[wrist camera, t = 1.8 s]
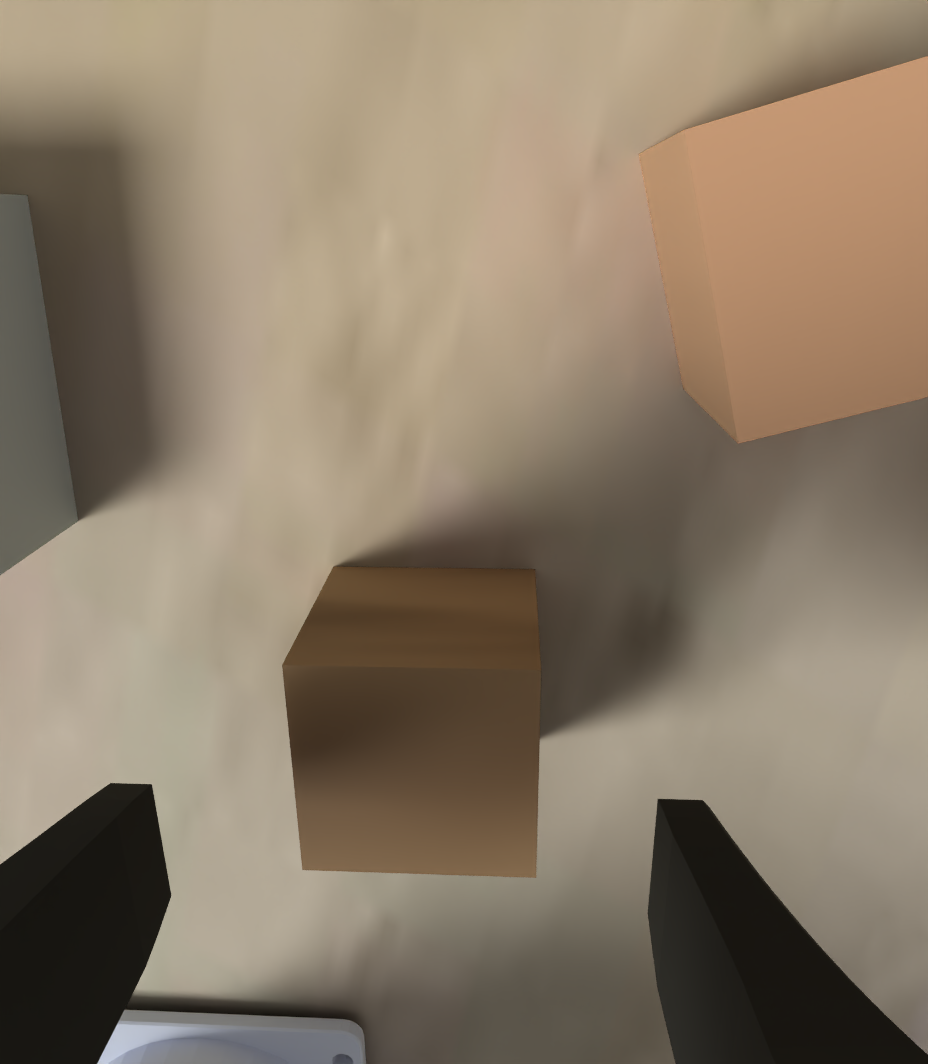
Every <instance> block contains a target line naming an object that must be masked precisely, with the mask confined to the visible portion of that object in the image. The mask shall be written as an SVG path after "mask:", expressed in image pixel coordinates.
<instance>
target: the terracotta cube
mask: <svg viewBox="0 0 928 1064" xmlns="http://www.w3.org/2000/svg"><path fill="white" fill-rule="evenodd" d="M639 159H640V164H641V169H642V175H643V180H644V185H645V190H646V196H647V201H648V206H649V211H650V217H651V222H652V227H653V232H654V238H655V243H656V248H657V253H658V259H659V264H660V269H661V274H662V280H663V285H664V290H665V296H666V301H667V306H668V311H669V317H670V322H671V327H672V332H673V338H674V343H675V348H676V353H677V359H678V364H679V369H680V374H681V380H682V385H683V389H684V390H685V391H686V392H687V393H688V394H689V395H690V396H691V397H692V398H693V399H694V400H695V401H696V402H697V403H698V404H699V405H700V406H701V407H702V408H703V409H704V410H705V411H706V412H707V413H708V414H709V415H710V416H711V417H712V418H713V419H714V420H715V421H716V422H717V423H718V424H719V425H720V426H721V427H722V428H723V429H724V430H725V431H726V432H727V433H728V434H729V435H730V436H731V437H732V438H733V439H734V440H735V441H736V442H737V443H738V444H739V443H743V442H747V441H751V440H755V439H759V438H763V437H768V436H772V435H776V434H780V433H784V432H788V431H792V430H796V429H800V428H804V427H808V426H812V425H816V424H820V423H825V422H829V421H833V420H837V419H841V418H845V417H849V416H853V415H857V414H861V413H865V412H869V411H873V410H877V409H882V408H886V407H890V406H894V405H898V404H902V403H906V402H910V401H914V400H918V399H922V398H926V397H928V56H926V57H923V58H919V59H916V60H913V61H909V62H906V63H903V64H900V65H896V66H893V67H890V68H886V69H883V70H880V71H876V72H873V73H870V74H867V75H863V76H860V77H857V78H853V79H850V80H847V81H843V82H840V83H837V84H834V85H830V86H827V87H824V88H820V89H817V90H814V91H811V92H807V93H804V94H801V95H797V96H794V97H791V98H787V99H784V100H781V101H778V102H774V103H771V104H768V105H764V106H761V107H758V108H754V109H751V110H748V111H745V112H741V113H738V114H735V115H731V116H728V117H725V118H721V119H718V120H715V121H712V122H708V123H705V124H702V125H698V126H695V127H692V128H689V129H685V130H683V131H681V132H679V133H677V134H675V135H674V136H672V137H670V138H668V139H666V140H664V141H662V142H660V143H658V144H657V145H655V146H653V147H651V148H649V149H647V150H645V151H643V152H642V153H640V154H639Z"/></svg>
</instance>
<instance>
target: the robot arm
mask: <svg viewBox="0 0 928 1064" xmlns="http://www.w3.org/2000/svg"><path fill="white" fill-rule="evenodd" d="M170 898H171V891H170V886H169V880H168V874H167V869H166V863H165V857H164V852H163V846H162V840H161V834H160V829H159V823H158V817H157V812H156V806H155V800H154V794H153V789H152V784H121V783H110V784H109V785H107V786H106V787H105V788H103V789H102V790H100V791H99V792H97V793H96V794H94V795H93V796H92V797H90V798H89V799H87V800H86V801H85V802H83V803H82V804H81V805H79V806H78V807H77V808H75V809H74V810H73V811H71V812H70V813H69V814H67V815H66V816H65V817H63V818H62V819H61V820H59V821H58V822H57V823H55V824H54V825H53V826H51V827H50V828H49V829H47V830H46V831H45V832H43V833H42V834H41V835H39V836H38V837H37V838H35V839H34V840H33V841H31V842H30V843H29V844H27V845H26V846H25V847H23V848H22V849H21V850H19V851H18V852H17V853H15V854H14V855H13V856H11V857H10V858H8V859H7V860H6V861H4V862H3V863H2V864H0V1064H366V1054H365V1040H364V1033H363V1030H362V1029H361V1027H360V1026H359V1025H358V1024H357V1023H355V1022H353V1021H351V1020H346V1019H331V1018H307V1017H284V1016H261V1015H237V1014H214V1013H191V1012H168V1011H144V1010H125V1008H126V1006H127V1004H128V1002H129V1000H130V998H131V996H132V994H133V992H134V990H135V988H136V986H137V984H138V982H139V980H140V977H141V975H142V973H143V971H144V969H145V967H146V965H147V962H148V959H149V957H150V954H151V951H152V949H153V946H154V943H155V941H156V938H157V935H158V933H159V930H160V927H161V924H162V921H163V918H164V915H165V912H166V909H167V907H168V904H169V901H170ZM648 919H649V927H650V935H651V943H652V950H653V958H654V965H655V972H656V980H657V987H658V992H659V996H660V1000H661V1004H662V1009H663V1013H664V1017H665V1021H666V1025H667V1030H668V1034H669V1038H670V1042H671V1046H672V1050H673V1054H674V1059H675V1063H676V1064H928V1055H927V1054H926V1053H925V1052H924V1051H923V1050H922V1049H921V1048H920V1047H918V1046H917V1045H916V1044H915V1043H914V1042H913V1041H912V1040H911V1039H910V1038H909V1037H908V1036H907V1035H906V1034H905V1033H904V1032H903V1031H902V1030H900V1029H899V1028H898V1027H897V1026H896V1025H895V1024H894V1023H893V1022H892V1021H891V1020H890V1019H889V1018H888V1017H887V1016H886V1015H885V1014H884V1013H883V1012H882V1011H881V1010H880V1009H879V1008H878V1007H877V1006H876V1005H875V1004H874V1003H873V1002H872V1001H871V1000H870V999H869V998H868V997H867V996H866V995H865V994H864V993H863V992H862V991H861V990H860V989H859V988H858V987H857V986H856V985H855V984H854V983H853V982H852V981H851V980H850V979H849V978H848V977H847V975H846V974H845V973H844V972H843V971H842V970H841V969H840V968H839V967H838V966H837V965H836V964H835V963H834V961H833V960H832V959H831V958H830V957H829V956H828V955H827V954H826V953H825V952H824V951H823V950H822V948H821V947H820V946H819V945H818V944H817V943H816V942H815V940H814V939H813V938H812V937H811V936H810V935H809V934H808V933H807V931H806V930H805V929H804V928H803V927H802V926H801V924H800V923H799V922H798V921H797V920H796V918H795V917H794V916H793V915H792V914H791V912H790V911H789V910H788V909H787V908H786V906H785V905H784V904H783V903H782V902H781V901H780V899H779V898H778V897H777V896H776V895H775V893H774V892H773V891H772V890H771V888H770V887H769V886H768V885H767V883H766V882H765V881H764V880H763V878H762V877H761V876H760V875H759V873H758V872H757V871H756V870H755V868H754V867H753V866H752V864H751V863H750V862H749V860H748V859H747V858H746V857H745V855H744V854H743V853H742V851H741V850H740V849H739V847H738V846H737V845H736V843H735V842H734V841H733V839H732V838H731V837H730V835H729V834H728V832H727V831H726V830H725V828H724V827H723V826H722V824H721V823H720V821H719V820H718V819H717V817H716V816H715V814H714V813H713V812H712V810H711V809H710V807H709V806H708V805H707V804H706V803H705V802H704V801H703V800H676V799H658V803H657V815H656V826H655V837H654V849H653V860H652V871H651V883H650V894H649V906H648Z"/></svg>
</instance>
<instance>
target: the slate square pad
mask: <svg viewBox="0 0 928 1064" xmlns="http://www.w3.org/2000/svg"><path fill="white" fill-rule="evenodd" d="M76 522H78V516H77V510H76V503H75V497H74V491H73V484H72V478H71V471H70V465H69V459H68V452H67V446H66V439H65V433H64V427H63V420H62V414H61V407H60V401H59V395H58V388H57V382H56V375H55V369H54V363H53V356H52V350H51V343H50V337H49V331H48V324H47V318H46V311H45V305H44V298H43V292H42V286H41V279H40V273H39V266H38V260H37V254H36V247H35V241H34V234H33V228H32V222H31V215H30V209H29V202H28V196H27V195H13V194H0V575H1V574H3V573H4V572H5V571H7V570H8V569H10V568H11V567H13V566H14V565H16V564H17V563H18V562H20V561H21V560H23V559H24V558H26V557H27V556H28V555H30V554H31V553H33V552H34V551H36V550H37V549H39V548H40V547H41V546H43V545H44V544H46V543H47V542H49V541H50V540H52V539H53V538H54V537H56V536H57V535H59V534H60V533H62V532H63V531H65V530H66V529H67V528H69V527H70V526H72V525H73V524H75V523H76Z"/></svg>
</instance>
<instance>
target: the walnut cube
mask: <svg viewBox="0 0 928 1064" xmlns="http://www.w3.org/2000/svg"><path fill="white" fill-rule="evenodd" d="M282 667H283V677H284V688H285V698H286V708H287V718H288V728H289V738H290V748H291V758H292V768H293V778H294V788H295V798H296V808H297V819H298V829H299V839H300V849H301V859H302V869H303V870H320V871H351V872H381V873H412V874H442V875H473V876H503V877H533V878H536V859H537V819H538V779H539V740H540V700H541V658H540V642H539V625H538V609H537V593H536V577H535V569H485V568H403V567H333V569H332V571H331V572H330V574H329V576H328V578H327V580H326V582H325V584H324V586H323V588H322V590H321V592H320V594H319V596H318V597H317V599H316V601H315V603H314V605H313V607H312V609H311V611H310V613H309V615H308V617H307V619H306V620H305V622H304V624H303V626H302V628H301V630H300V632H299V634H298V636H297V638H296V640H295V642H294V644H293V645H292V647H291V649H290V651H289V653H288V655H287V657H286V659H285V661H284V663H283V665H282Z"/></svg>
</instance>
